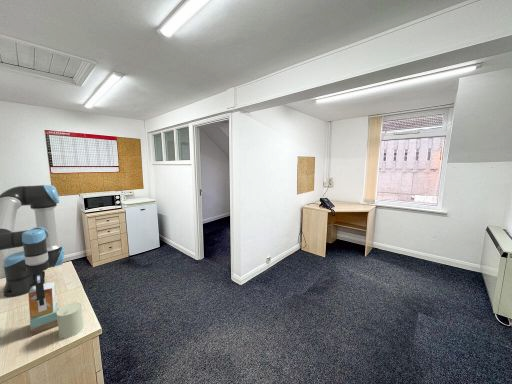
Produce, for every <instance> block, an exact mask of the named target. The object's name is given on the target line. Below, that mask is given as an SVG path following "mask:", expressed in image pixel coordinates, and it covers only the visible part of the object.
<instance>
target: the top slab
mask: <svg viewBox="0 0 512 384" xmlns="http://www.w3.org/2000/svg"><path fill="white" fill-rule="evenodd" d="M57 309H58V303H57V302H55V308H54V312H52V313H48V314H44V315H40V316H36V317H33V318H30V317H29V324H30V325H29V327H30V326H31V329H32V328H35V327H38V326H41V325H44V324H46V323H49V322H52V321H55V320H57V315H56V313H57Z"/></svg>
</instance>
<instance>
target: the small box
mask: <svg viewBox="0 0 512 384" xmlns="http://www.w3.org/2000/svg"><path fill="white" fill-rule="evenodd" d="M44 283H45V282H44ZM55 288H56V287H55V281H53V282H52V281H51V282H46V283H45V284H44V294H45V298H46V306H47V310H44V311H41V312H39V311H38V303H37V300H36V301H35V299H37V295H36V286H32V287H31V289H30V291H29V292H28V293H27V294H28V295H27V296H28V304H29V305H28V307H29V309H28V311H29V319H30V318H33V317H36V316H40V315H44V314H48V313H52V312H54V308H55V303H56V289H55Z"/></svg>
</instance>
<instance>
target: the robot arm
mask: <svg viewBox="0 0 512 384" xmlns="http://www.w3.org/2000/svg"><path fill="white" fill-rule="evenodd" d="M57 204H60V197H59V194H58V190H57V189H56V186H54V185H49V184H46V185H45V184H41V185H40V184H39V185H19V186H14V187H12V188H8V189H7V190H5V191H3V192H2V193H1V194H0V251H3V250H9V249H15V248H21V247H23V250H22V251H19V252H15V253H12V254H9V255H8V256H6V257H5V258H4V259H3V271H4V274H5V275H4V276H5V277H4V278H5V284H4V286H3V291H2V292H3V296H4V297H7V298H10V297H11V298H13V297H19V296H22V295H26V294H28V293H29V291H30V289H31V287H32V286H36V295H37V299H35V301H36V300H37V303H38V311H39V312H41V311H44V310H47V306H46V298H45V294H44V284H45V282H46V281H45V280H46V279H45V278H46V277H45V276H46V273H45V272H46V270H48V269H50V268H56V267H59V266H62V265H63V264H64V259H65V247H64V246H62V244H60V243H59V241H58V231H57V224H56V223H57V222H56V217H55V208H56V207H57ZM22 206H29V207H30V209H31V210H33V211H34V215H35V216H34V217H35V225H36V227H33V228H31V229H26V230H20V231H14V227H15V223H16V219H17V214H18V209H20V208H21V207H22Z"/></svg>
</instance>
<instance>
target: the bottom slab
mask: <svg viewBox="0 0 512 384" xmlns="http://www.w3.org/2000/svg"><path fill="white" fill-rule="evenodd" d="M59 309H60V308H57V311H58V310H59ZM29 327H30V329H29V331H30V337H34V336H37V335H39V334H41V333H42V334H43V333H44V332H47V331H50V330H51V329H54V328H58V321H57V320H55V321H52V322H49V323H46V324H44V325H41V326H38V327H35V328H32V329H31V326H30V325H29Z"/></svg>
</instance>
